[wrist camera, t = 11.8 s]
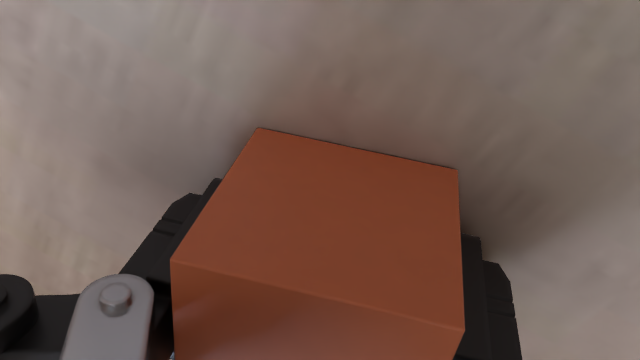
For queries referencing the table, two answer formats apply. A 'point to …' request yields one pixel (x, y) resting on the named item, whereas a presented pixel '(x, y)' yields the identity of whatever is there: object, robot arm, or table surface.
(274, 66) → the table surface
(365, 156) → the block
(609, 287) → the table surface
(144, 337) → the robot arm
